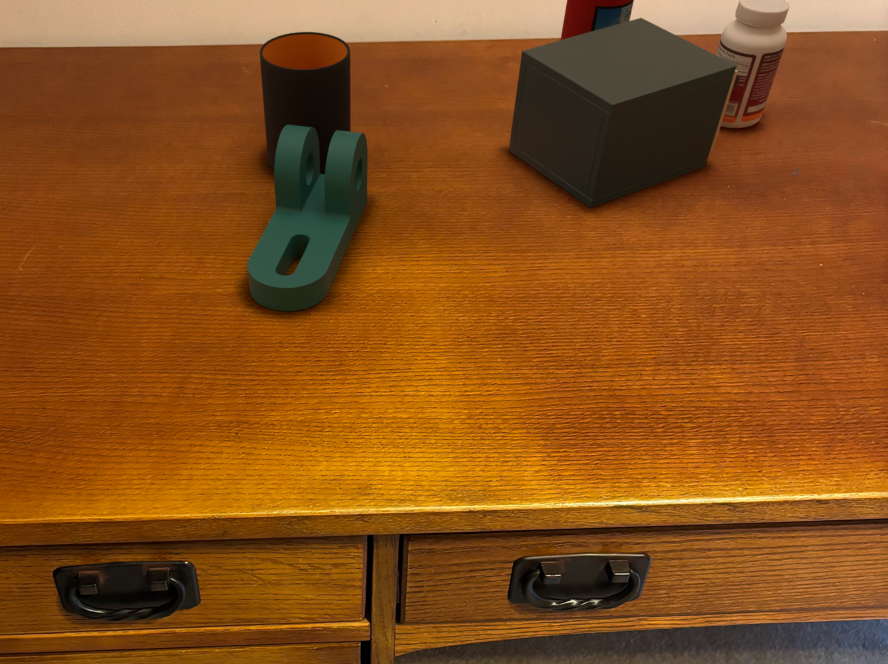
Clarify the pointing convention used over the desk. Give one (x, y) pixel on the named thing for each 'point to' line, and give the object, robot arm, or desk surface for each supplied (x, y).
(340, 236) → the bracket
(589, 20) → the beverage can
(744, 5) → the pill bottle
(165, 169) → the desk surface
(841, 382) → the desk surface
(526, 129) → the dark grey box
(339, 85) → the mug
